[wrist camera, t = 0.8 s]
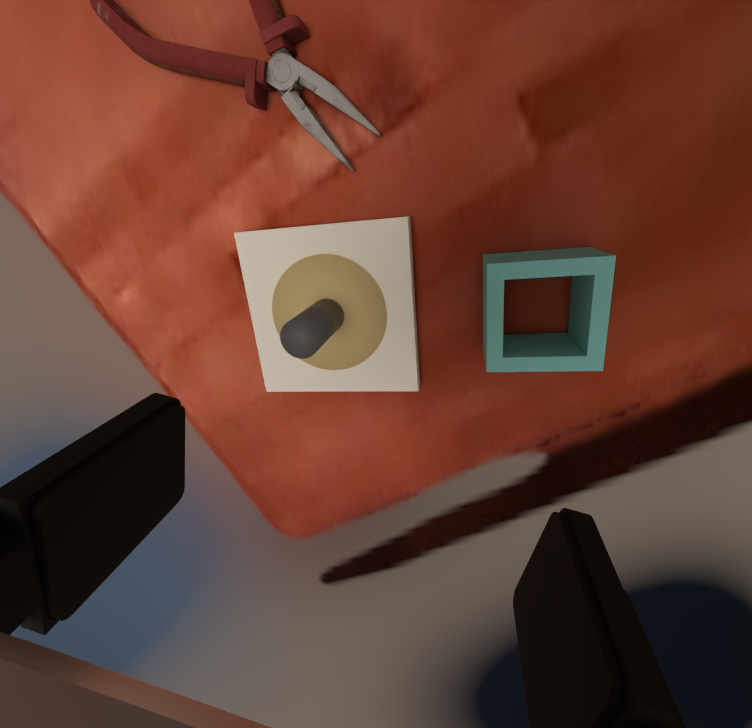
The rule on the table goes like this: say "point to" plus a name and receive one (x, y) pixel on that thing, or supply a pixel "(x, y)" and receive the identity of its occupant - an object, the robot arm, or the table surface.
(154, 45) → the pliers
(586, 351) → the collar
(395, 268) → the post stand
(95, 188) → the table surface
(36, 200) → the table surface
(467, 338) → the table surface
